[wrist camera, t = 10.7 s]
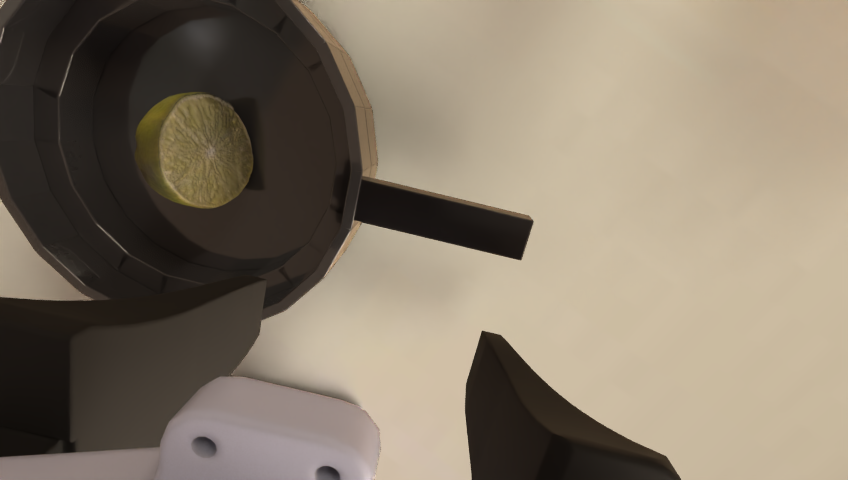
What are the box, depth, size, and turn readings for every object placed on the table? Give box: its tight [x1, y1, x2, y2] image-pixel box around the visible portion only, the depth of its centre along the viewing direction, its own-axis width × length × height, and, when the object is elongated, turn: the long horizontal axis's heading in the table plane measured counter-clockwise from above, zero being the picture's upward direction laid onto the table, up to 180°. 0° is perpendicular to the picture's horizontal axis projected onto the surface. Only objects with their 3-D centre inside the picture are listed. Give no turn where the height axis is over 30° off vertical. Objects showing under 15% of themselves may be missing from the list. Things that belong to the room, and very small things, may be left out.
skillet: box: [0, 0, 378, 320], centre depth 20 cm, size 16×16×4 cm
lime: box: [135, 92, 253, 208], centre depth 19 cm, size 4×5×5 cm
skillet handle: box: [355, 177, 533, 260], centre depth 18 cm, size 2×8×1 cm, turn 77°
